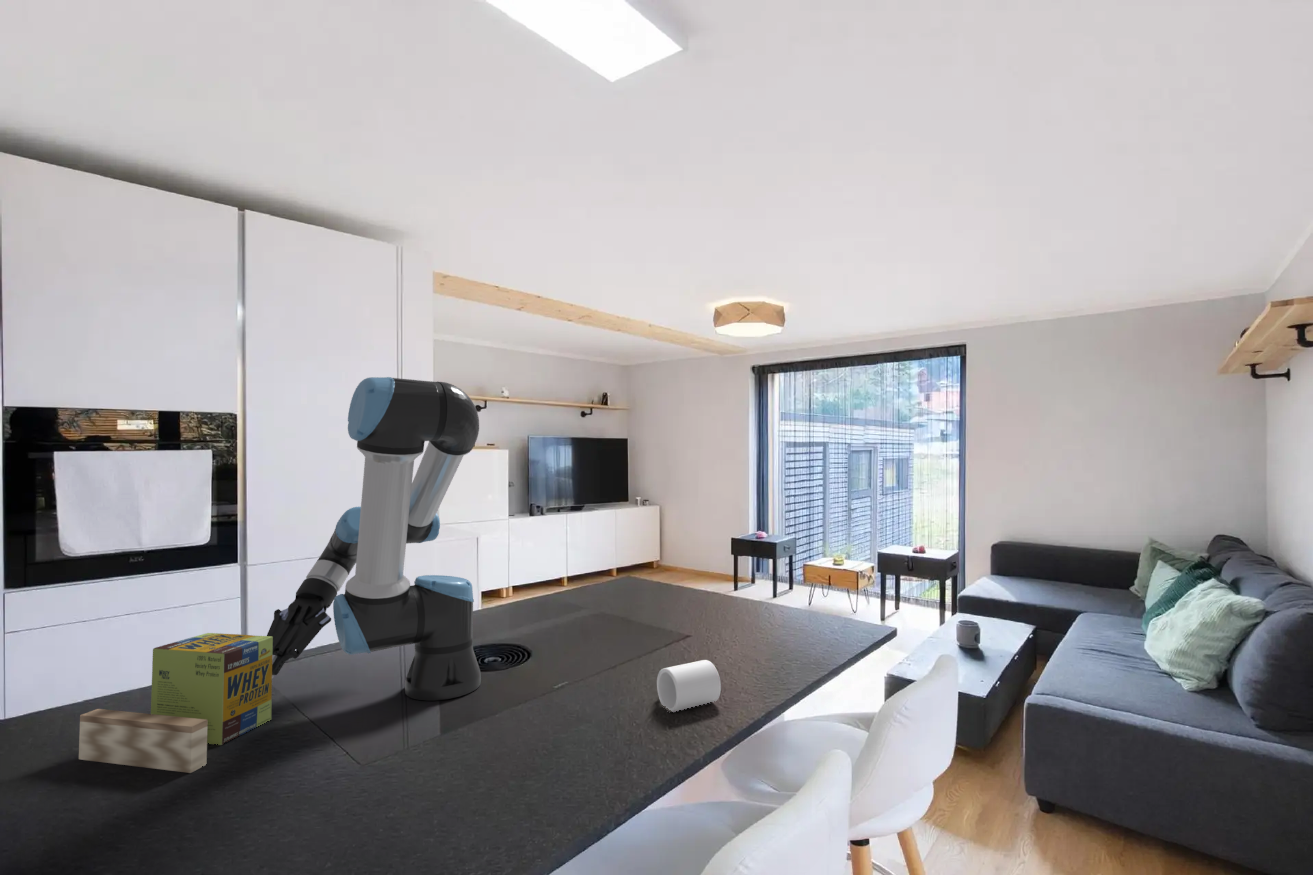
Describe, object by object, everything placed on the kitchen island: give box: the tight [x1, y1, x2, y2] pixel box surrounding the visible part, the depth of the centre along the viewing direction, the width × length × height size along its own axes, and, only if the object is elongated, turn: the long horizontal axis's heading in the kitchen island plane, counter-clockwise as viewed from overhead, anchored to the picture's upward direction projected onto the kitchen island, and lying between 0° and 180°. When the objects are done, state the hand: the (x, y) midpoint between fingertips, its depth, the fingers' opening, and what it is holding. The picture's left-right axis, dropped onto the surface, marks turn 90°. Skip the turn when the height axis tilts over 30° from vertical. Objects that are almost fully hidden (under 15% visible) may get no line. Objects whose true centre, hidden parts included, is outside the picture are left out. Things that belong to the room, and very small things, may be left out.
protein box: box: [150, 632, 273, 746], centre depth 109 cm, size 10×15×16 cm
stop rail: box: [78, 708, 208, 774], centre depth 97 cm, size 22×3×7 cm, turn 78°
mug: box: [656, 659, 722, 713], centre depth 120 cm, size 12×10×8 cm
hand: (256, 689), depth 118 cm, fingers closed
